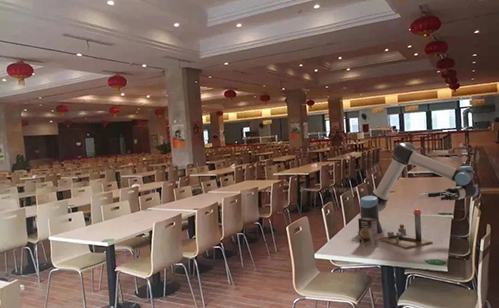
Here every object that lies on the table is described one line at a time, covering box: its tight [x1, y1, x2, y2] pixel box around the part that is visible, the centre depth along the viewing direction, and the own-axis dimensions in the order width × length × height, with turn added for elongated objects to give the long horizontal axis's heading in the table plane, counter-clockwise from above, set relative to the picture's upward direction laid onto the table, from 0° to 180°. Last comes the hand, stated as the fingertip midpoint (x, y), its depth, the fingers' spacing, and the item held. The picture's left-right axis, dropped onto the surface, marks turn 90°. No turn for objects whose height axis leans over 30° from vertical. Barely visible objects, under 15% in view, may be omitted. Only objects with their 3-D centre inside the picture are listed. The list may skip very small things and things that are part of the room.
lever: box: [387, 208, 423, 242], centre depth 251 cm, size 21×4×19 cm, turn 42°
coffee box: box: [357, 217, 379, 248], centre depth 249 cm, size 9×6×16 cm
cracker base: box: [377, 223, 433, 250], centre depth 251 cm, size 20×24×8 cm
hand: (427, 198), depth 247 cm, fingers open, 13 cm apart
